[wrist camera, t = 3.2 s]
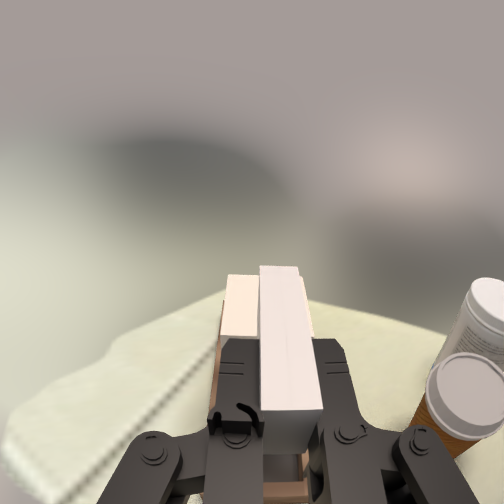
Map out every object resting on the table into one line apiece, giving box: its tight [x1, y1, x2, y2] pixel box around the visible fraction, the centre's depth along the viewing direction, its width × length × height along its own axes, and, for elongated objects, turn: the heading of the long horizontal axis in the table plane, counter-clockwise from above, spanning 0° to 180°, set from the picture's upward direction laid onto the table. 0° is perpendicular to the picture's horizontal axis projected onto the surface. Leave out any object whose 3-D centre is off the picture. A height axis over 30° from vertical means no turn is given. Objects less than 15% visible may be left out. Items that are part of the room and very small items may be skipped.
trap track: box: [200, 300, 309, 504], centre depth 34 cm, size 28×10×3 cm, turn 179°
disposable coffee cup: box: [408, 352, 504, 459], centre depth 23 cm, size 10×10×12 cm
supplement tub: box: [429, 278, 504, 374], centre depth 30 cm, size 10×10×15 cm
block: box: [220, 275, 314, 349], centre depth 26 cm, size 7×6×15 cm
